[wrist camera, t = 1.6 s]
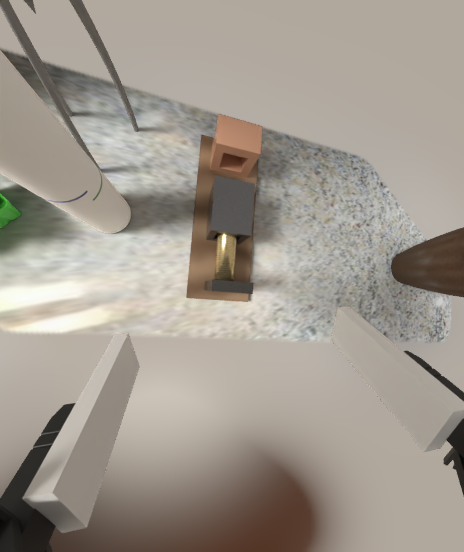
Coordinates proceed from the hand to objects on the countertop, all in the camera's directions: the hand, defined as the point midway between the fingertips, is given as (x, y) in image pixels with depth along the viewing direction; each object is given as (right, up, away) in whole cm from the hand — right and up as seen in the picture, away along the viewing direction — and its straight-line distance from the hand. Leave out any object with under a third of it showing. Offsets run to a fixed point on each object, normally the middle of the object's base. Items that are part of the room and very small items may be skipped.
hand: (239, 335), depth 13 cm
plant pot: (+43, +6, +39) cm, 58 cm away
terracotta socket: (-1, +27, +27) cm, 38 cm away
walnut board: (-2, +16, +28) cm, 32 cm away
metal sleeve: (-2, +16, +27) cm, 31 cm away
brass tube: (-2, +11, +25) cm, 28 cm away
